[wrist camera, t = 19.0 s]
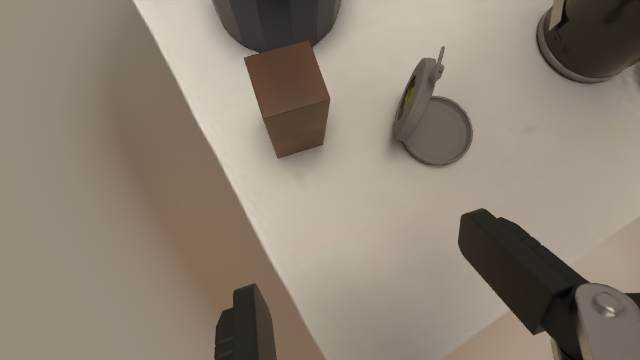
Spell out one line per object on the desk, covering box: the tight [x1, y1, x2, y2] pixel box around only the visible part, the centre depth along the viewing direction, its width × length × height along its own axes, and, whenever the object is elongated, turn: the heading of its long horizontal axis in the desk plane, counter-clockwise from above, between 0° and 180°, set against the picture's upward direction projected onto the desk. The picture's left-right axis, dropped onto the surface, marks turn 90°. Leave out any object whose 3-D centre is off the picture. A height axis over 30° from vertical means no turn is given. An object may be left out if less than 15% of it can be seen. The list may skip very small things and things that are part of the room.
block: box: [244, 40, 330, 158], centre depth 23 cm, size 4×4×9 cm
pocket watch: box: [393, 46, 473, 165], centre depth 23 cm, size 8×8×10 cm
